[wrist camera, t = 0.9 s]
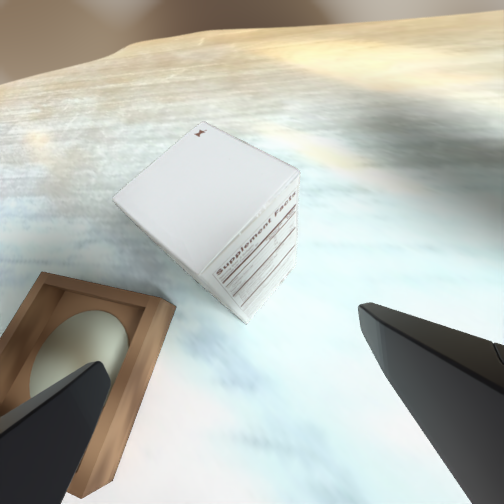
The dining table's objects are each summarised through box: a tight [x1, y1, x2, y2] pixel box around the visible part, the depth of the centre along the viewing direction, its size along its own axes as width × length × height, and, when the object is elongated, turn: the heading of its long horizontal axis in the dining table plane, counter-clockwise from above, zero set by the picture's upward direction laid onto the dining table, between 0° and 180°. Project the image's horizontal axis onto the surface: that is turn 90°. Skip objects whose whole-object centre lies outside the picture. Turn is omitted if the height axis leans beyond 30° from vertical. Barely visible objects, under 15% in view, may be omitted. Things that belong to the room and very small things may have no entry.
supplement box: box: [112, 121, 300, 325], centre depth 18 cm, size 7×7×13 cm
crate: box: [0, 272, 176, 499], centre depth 21 cm, size 13×13×3 cm
